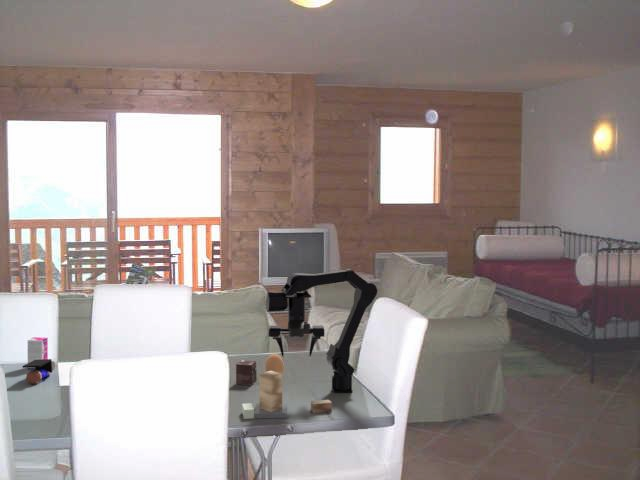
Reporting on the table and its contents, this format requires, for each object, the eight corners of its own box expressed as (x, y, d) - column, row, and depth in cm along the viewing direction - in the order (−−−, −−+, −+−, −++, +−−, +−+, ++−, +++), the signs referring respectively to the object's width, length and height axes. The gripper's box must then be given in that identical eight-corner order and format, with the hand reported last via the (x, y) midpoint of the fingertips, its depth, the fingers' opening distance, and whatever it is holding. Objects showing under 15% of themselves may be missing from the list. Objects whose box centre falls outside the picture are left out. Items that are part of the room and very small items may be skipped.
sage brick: (242, 413, 219) (242, 403, 218) (251, 412, 219) (251, 403, 219) (244, 419, 213) (244, 409, 213) (253, 418, 213) (253, 409, 213)
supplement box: (42, 369, 268) (41, 340, 267) (27, 369, 268) (26, 340, 267) (48, 365, 274) (47, 337, 273) (33, 365, 274) (32, 336, 273)
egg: (287, 376, 260) (287, 353, 259) (277, 381, 254) (277, 357, 253) (271, 374, 263) (271, 350, 262) (261, 378, 257) (261, 354, 256)
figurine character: (37, 378, 262) (21, 385, 247) (37, 357, 262) (21, 363, 247) (55, 378, 262) (40, 385, 247) (56, 357, 262) (41, 363, 247)
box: (251, 385, 248) (251, 365, 248) (235, 384, 250) (235, 364, 249) (256, 380, 254) (256, 361, 254) (241, 379, 256) (240, 360, 255)
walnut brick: (328, 408, 223) (328, 399, 223) (331, 411, 220) (331, 402, 220) (310, 410, 221) (310, 401, 221) (313, 413, 219) (313, 404, 218)
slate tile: (287, 407, 224) (287, 403, 223) (286, 418, 214) (286, 413, 213) (255, 407, 223) (255, 403, 223) (253, 418, 213) (253, 413, 213)
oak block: (271, 404, 222) (271, 370, 221) (282, 408, 218) (282, 373, 218) (259, 408, 218) (259, 373, 217) (270, 411, 215) (270, 376, 214)
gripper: (268, 315, 228) (268, 362, 229) (325, 315, 229) (324, 362, 230) (269, 309, 239) (269, 354, 240) (323, 309, 240) (323, 353, 241)
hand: (296, 356), depth 238 cm, fingers open, 9 cm apart
